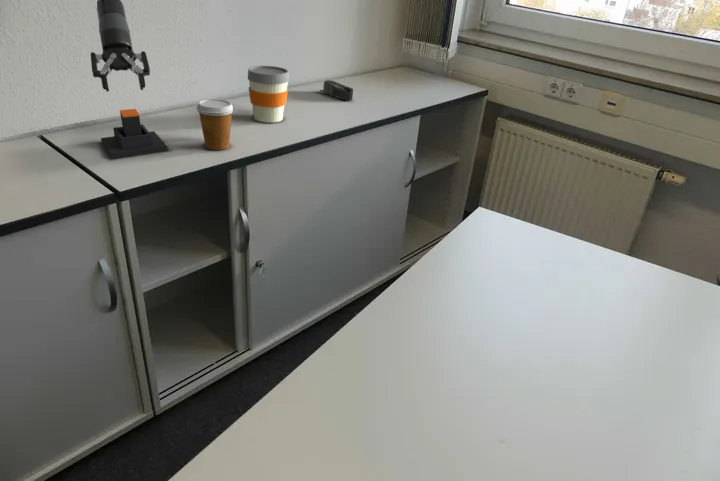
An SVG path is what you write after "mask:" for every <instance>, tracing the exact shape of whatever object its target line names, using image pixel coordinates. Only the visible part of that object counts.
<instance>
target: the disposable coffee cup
mask: <svg viewBox="0 0 720 481" xmlns="http://www.w3.org/2000/svg"><path fill="white" fill-rule="evenodd" d="M232 104H233V103H232V102H231V101H230V100H226V99H222V98H207V99H201V100H200V101H198V103H197V106H196V110H197V112H198V115H199V121H200V125H201V130H202V135H203V136H202V137H203V141H204V145H205V148H206V149H208V150H212V151H222V150H226V149H228V148H229V147H230V138H231V127H232V117H233V116H232V114H233V111H234V110H235V109H234V107H233V105H232Z"/></svg>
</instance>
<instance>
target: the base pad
mask: <svg viewBox="0 0 720 481" xmlns="http://www.w3.org/2000/svg"><path fill="white" fill-rule="evenodd" d="M140 124H141V123H140ZM112 130H113V135H114V136H113V135H112V136H105V137H101V138H100V141H101V144H102V146H103V147H104V150H106V152H107V154H108V155H109V157H110V158H111V160H114V159H115V160H116V159H117V160H118V159H122V158H123V159H124V158H129V157H130V158H131V157H136V156H142V155H144V156H145V155H149V154H156V153H163V152H168V145H167V144H166V143H165V142H164V141H163V139H162V138H161V137H160V136H159V135H158V133H156V131H155V130H152V131H149V129H148V128H146V126H145V125H144V124H143V123H142V124H141V131H142V135H136V136H128V137H124V133H123V127H122V126H117V127H116V126H115V127H113V128H112Z"/></svg>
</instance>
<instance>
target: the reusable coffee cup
mask: <svg viewBox="0 0 720 481" xmlns="http://www.w3.org/2000/svg"><path fill="white" fill-rule="evenodd" d="M247 80H248V82H249V86H248V93H249V100H250V104H252V105H251V106H252V112H253V119H254V120H256V121H258V122H260V123H278V122H282V121H283V119H284V111H285V106H286V104H287V98H288V93H289V89H288V84H289V83H288V82H289V81H290V76H289V70H288V69H286V68H284V67H280V66H275V65H273V66H272V65H255V66H250V67H249V68H248V70H247Z"/></svg>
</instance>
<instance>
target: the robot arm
mask: <svg viewBox="0 0 720 481" xmlns="http://www.w3.org/2000/svg"><path fill="white" fill-rule="evenodd" d="M96 14H97V20H98V33H99V37H100V43H101V49H102V53H101V54H100V53H99V54H96V52H94V51H93V52H90V64H91V72H92V76H93V78H99V79H100V80H101V86H102V87H101V88H102V89H103V90H105V92H110V89H109V82H108V78H107V77H108V75H110V74H111V73H112V71H113V70H114V71H116V72H118V71H124V72H125V71H128V70H130V72H132V73H133V74H135V75H136V76H137V78H138V84H139V89H140V91H143V90H144V89H145V88H146V81H145V77H146V76H147V77H148V76H150V74H151V68H150V64H149V61H148V57H147V52H145V51H144V50H142V51H141V52H140V53H135V51H134V49H133V44H132V37H131V31H130V28H129V24H128V21H127V16H126V10H125V6H124V4H123V1H122V0H98V1H97V8H96ZM101 60H102V61H103V63H104V64H103V66H102V67H101V70H98V64H99V63H101ZM136 60H138V61H139V62H140V63H142V66H143V68H141V67H140V66H139V65H138V64H137V63H136Z"/></svg>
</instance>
